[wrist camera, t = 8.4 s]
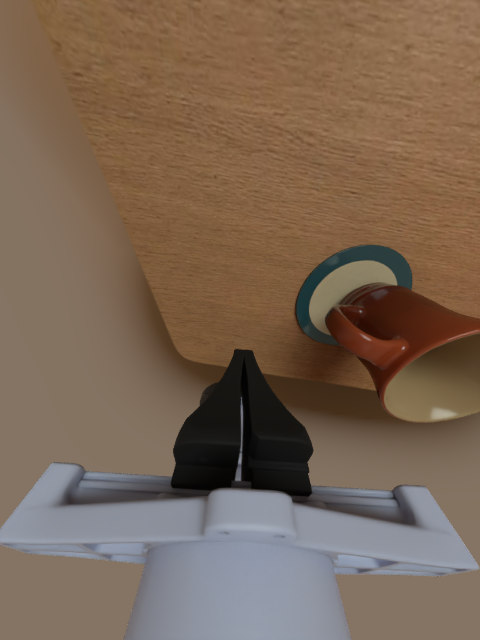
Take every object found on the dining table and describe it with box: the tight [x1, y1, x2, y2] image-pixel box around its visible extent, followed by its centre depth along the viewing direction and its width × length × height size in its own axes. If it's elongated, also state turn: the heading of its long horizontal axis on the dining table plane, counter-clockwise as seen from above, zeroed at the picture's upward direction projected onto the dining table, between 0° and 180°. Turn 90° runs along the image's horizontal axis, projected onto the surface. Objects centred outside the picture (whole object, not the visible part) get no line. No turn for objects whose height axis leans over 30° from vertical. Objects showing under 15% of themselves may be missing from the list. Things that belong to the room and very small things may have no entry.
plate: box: [296, 245, 412, 345], centre depth 20 cm, size 12×12×1 cm
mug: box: [325, 282, 480, 423], centre depth 15 cm, size 12×9×10 cm
